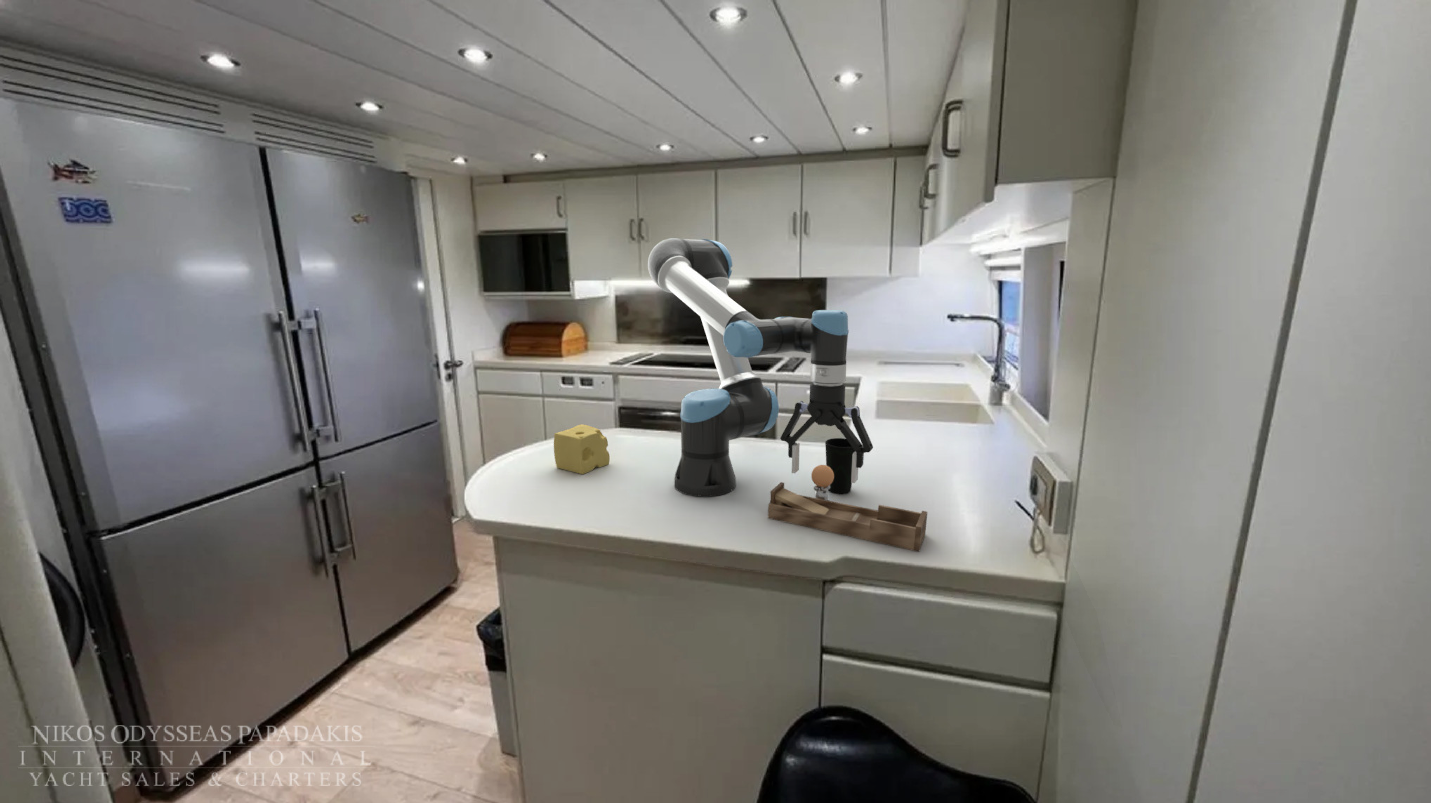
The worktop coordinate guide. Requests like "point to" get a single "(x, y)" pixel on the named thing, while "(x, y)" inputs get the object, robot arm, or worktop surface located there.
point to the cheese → (580, 449)
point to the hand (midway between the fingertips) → (824, 476)
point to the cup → (839, 464)
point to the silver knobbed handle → (821, 492)
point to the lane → (850, 519)
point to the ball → (822, 476)
